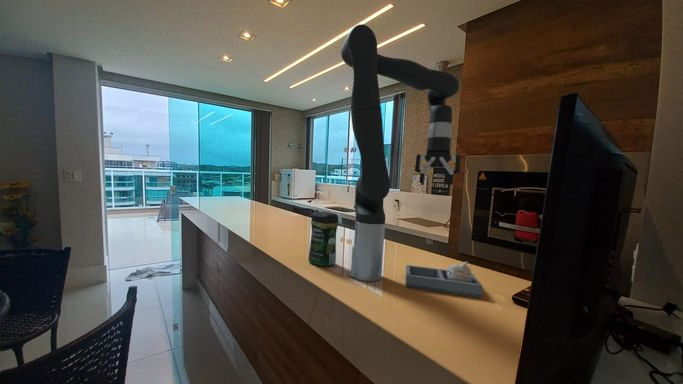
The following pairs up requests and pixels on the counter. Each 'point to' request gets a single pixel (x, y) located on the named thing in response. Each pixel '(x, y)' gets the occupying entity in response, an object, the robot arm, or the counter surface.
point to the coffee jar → (323, 238)
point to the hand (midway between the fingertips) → (435, 185)
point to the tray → (440, 282)
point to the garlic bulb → (459, 272)
